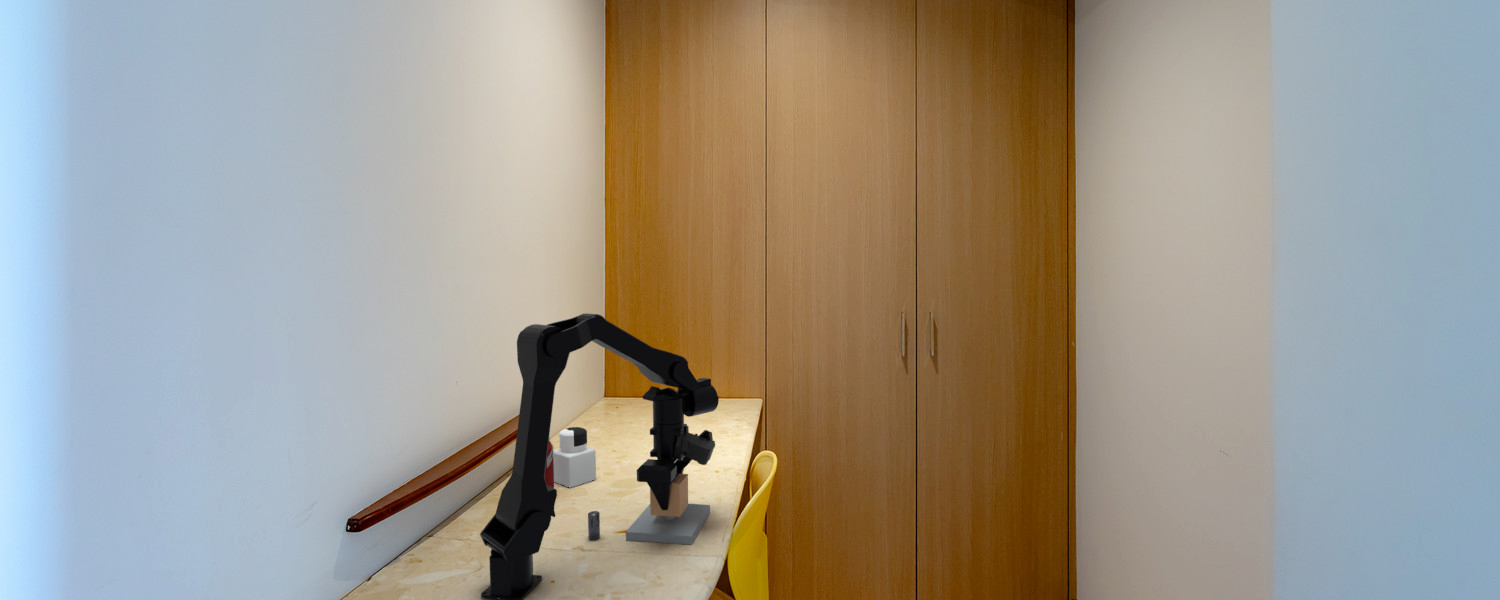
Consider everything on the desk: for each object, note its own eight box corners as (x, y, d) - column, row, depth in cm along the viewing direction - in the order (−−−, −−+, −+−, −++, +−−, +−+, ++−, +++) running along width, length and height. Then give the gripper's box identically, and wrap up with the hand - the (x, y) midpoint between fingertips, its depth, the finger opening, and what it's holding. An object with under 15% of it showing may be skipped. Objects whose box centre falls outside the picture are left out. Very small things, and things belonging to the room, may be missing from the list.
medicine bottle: (578, 473, 141) (577, 423, 140) (596, 479, 136) (595, 428, 136) (551, 481, 135) (550, 429, 135) (569, 488, 131) (568, 435, 130)
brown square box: (679, 516, 108) (679, 484, 107) (650, 515, 109) (650, 482, 108) (688, 504, 113) (687, 474, 113) (660, 503, 114) (659, 472, 114)
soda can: (543, 501, 123) (542, 444, 123) (514, 499, 125) (512, 443, 124) (560, 489, 130) (558, 435, 129) (532, 487, 131) (530, 434, 131)
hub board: (691, 544, 103) (691, 513, 103) (626, 540, 105) (625, 509, 105) (710, 512, 117) (709, 485, 117) (651, 508, 119) (651, 482, 119)
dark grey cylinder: (597, 540, 105) (596, 515, 105) (586, 540, 105) (586, 515, 105) (601, 535, 107) (601, 511, 107) (591, 535, 107) (590, 510, 107)
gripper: (698, 436, 100) (699, 527, 100) (721, 411, 118) (722, 488, 119) (634, 434, 102) (636, 523, 102) (667, 409, 120) (668, 485, 121)
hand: (669, 503), depth 111 cm, fingers closed on brown square box, 6 cm apart
